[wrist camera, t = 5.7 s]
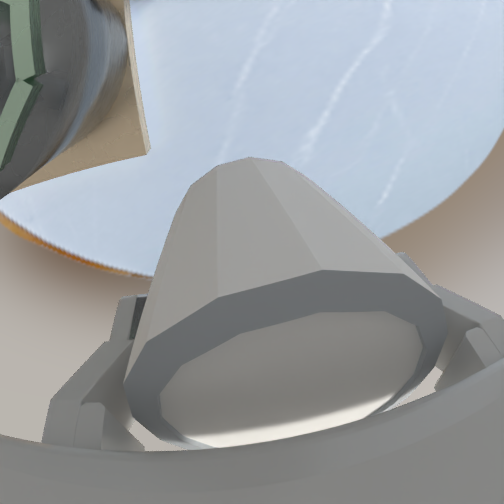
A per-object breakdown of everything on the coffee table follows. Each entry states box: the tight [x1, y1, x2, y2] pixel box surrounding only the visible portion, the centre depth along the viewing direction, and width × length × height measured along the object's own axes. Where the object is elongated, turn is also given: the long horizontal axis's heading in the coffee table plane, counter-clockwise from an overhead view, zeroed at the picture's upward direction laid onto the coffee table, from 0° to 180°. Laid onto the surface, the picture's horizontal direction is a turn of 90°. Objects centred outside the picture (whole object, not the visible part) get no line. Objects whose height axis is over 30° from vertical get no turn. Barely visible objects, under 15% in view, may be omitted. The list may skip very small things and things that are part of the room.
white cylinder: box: [123, 157, 448, 450], centre depth 9 cm, size 7×7×7 cm
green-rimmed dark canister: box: [0, 0, 151, 199], centre depth 12 cm, size 18×14×13 cm
